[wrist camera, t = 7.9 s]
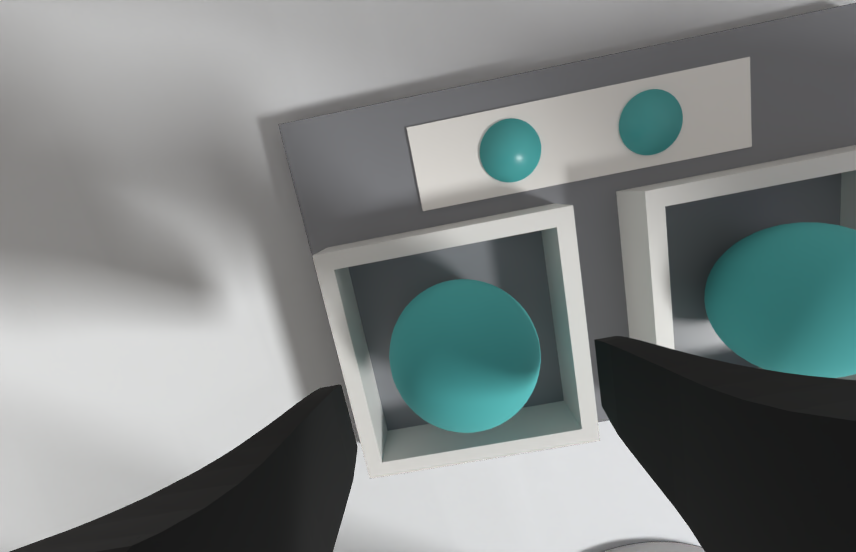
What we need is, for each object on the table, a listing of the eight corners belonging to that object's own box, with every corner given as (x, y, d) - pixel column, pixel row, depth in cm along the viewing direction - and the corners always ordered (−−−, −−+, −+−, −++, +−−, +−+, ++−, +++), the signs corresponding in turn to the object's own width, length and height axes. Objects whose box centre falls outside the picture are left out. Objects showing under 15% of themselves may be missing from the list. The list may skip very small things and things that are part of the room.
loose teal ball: (516, 258, 15) (554, 291, 10) (528, 377, 16) (567, 459, 11) (387, 275, 15) (364, 315, 10) (407, 391, 16) (394, 477, 11)
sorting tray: (852, 10, 14) (963, -38, 11) (842, 366, 17) (928, 402, 14) (288, 128, 15) (254, 113, 12) (369, 446, 18) (356, 495, 15)
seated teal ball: (806, 205, 15) (994, 212, 10) (805, 331, 16) (975, 394, 11) (669, 231, 15) (787, 250, 10) (677, 352, 16) (787, 424, 11)
